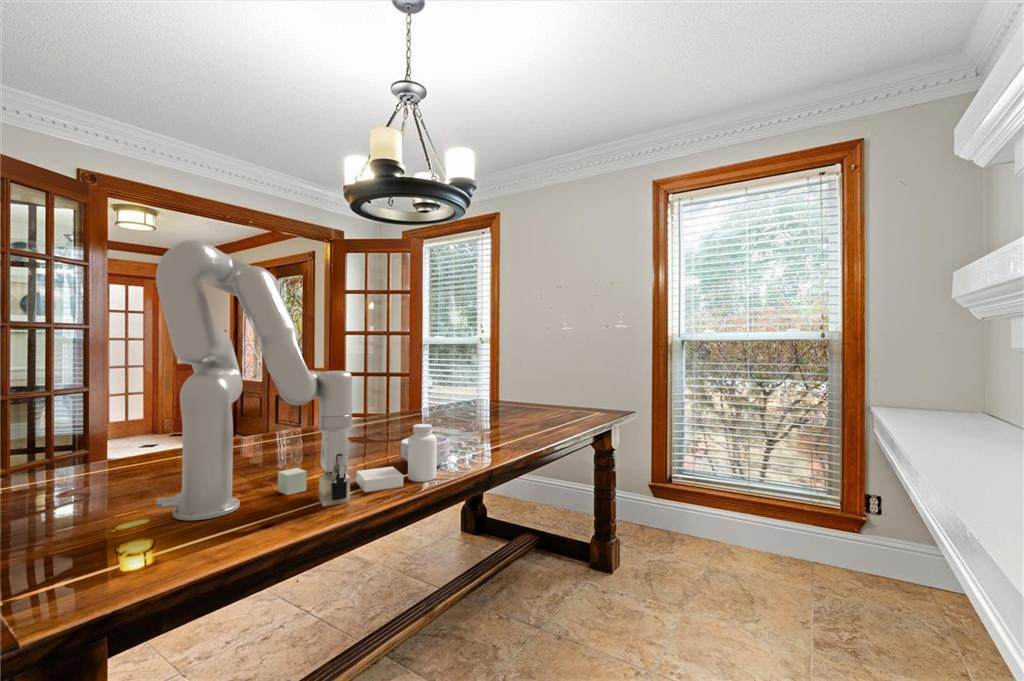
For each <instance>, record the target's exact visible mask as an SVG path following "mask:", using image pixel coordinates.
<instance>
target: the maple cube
mask: <svg viewBox="0 0 1024 681" xmlns="http://www.w3.org/2000/svg"><path fill="white" fill-rule="evenodd" d="M318 475H319V476H318V478H319V479H318V481H319V482H318V500H319V501H320V505H322V507H323V508H324V507H329V506H331V507H332V506H336V505H341V504H343V505H344V504H349V503H350V502H351V501H350V500H351V488H350V487H351V477H350V476H349V474H347V472H346V481H347V497H346V498H345V499H340V500H332V483H333V475H332V473H330V474H325V473H324V474H318ZM336 475H337V473H336Z"/></svg>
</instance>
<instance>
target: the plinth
mask: <svg viewBox="0 0 1024 681" xmlns="http://www.w3.org/2000/svg"><path fill="white" fill-rule="evenodd" d="M355 477H356V478H355V481H356V482H355V483H356V484H357V485H358V486H359V487H360V488H361V489H362V490H363V492H364V493H369V492H376V491H381V490H383V491H384V490H390V489H395V488H403V487H404V474H402V472H400V471H399V470H398V469H396V468H395V467H394V466H385V467H377V468H369V469H362V470H356V475H355Z"/></svg>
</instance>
